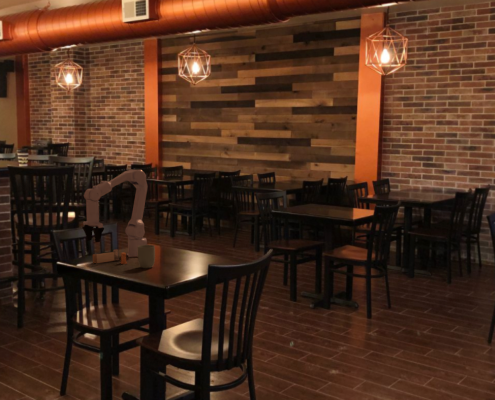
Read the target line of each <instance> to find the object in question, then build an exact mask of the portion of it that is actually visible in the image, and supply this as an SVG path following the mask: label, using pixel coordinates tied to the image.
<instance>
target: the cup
mask: <svg viewBox="0 0 495 400" xmlns="http://www.w3.org/2000/svg"><path fill="white" fill-rule="evenodd" d="M155 247H156V246H155V245H153V244H147V245H140V246H138V247H137V254H138V256H137V263H138V265H139V266H138V267H140V268H141V269H152V268H153V267H154V265H155V263H156V262H155V260H156V248H155Z"/></svg>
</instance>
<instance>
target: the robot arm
mask: <svg viewBox="0 0 495 400" xmlns="http://www.w3.org/2000/svg"><path fill="white" fill-rule="evenodd" d="M124 182H129V183H130V184H132V185H133V186H134V188H135V196H134V201H133V208H132V213H131V217H130V220H129V221H128V223H127V226H126V227H125V230H124V232H125V235H126V236H127V249H128V250H127V253H126V257H128V258H134V257H136V258H138V254H137V247H138V246H140V245H148V242H147V241H148V240H147V238H146V237H144V236H145V233H146V231H145V223H144V222H143V216H144V211H145V206H146V205H145V203H146V199H147V193H148V187H149V186H148V183H147V174H146V173H145V171H143V170H142V169H128V170H125V171H123V172H121V174H118V175H117V176H116V177H114V178H113V179H111V180H109V181H108V180H101V181H100V183H99V184H96V185H93V186H92V188H87V189H86V190H85V191H84V194H83V197H84V199H85V204H86V206H85V207H86V221H83V226H82V228H81V229H82V230H83V232H84V234H85V238H86V240H87V241H92V239H93V236H94V242H95V243H100V242H101V238H102V234H103V233H104V230H105V227H104V223H102V222H100V217H99V215H100V213H99V211H100V209H99V200H100V199H101V197H102V196H105V195H107V194H108V193H110V192H111V191H112V190H113V188H115V186H119V185H120V184H122V183H124Z"/></svg>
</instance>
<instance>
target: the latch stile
mask: <svg viewBox="0 0 495 400" xmlns="http://www.w3.org/2000/svg"><path fill="white" fill-rule="evenodd" d="M126 254H127V252H120V260H121V261H120V264H121V265H126V264H127V265H128V262H127V255H126Z"/></svg>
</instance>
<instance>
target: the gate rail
mask: <svg viewBox="0 0 495 400" xmlns="http://www.w3.org/2000/svg"><path fill="white" fill-rule="evenodd" d="M113 261H114V262H115V260H114V252H113V251H111V252H104V253H97V254H96V253H94V254H92V264H94V263H96V264H100V263H101V264H102V263H108V262H113Z"/></svg>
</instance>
